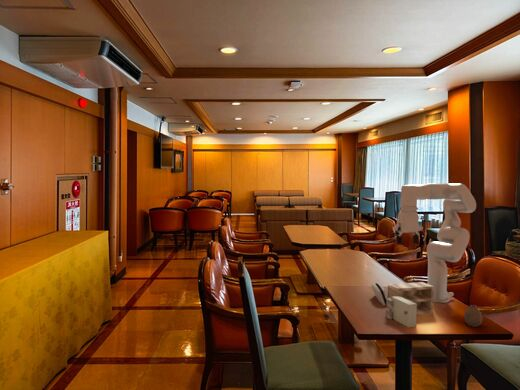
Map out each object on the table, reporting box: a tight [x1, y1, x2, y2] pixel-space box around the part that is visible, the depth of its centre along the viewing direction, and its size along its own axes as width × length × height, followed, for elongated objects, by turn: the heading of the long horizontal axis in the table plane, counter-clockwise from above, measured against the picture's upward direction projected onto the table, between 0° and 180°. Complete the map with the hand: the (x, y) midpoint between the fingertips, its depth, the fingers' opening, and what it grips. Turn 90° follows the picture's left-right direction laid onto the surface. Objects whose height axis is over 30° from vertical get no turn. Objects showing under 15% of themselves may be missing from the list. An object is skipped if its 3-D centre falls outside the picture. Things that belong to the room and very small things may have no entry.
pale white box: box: [391, 296, 417, 328], centre depth 171 cm, size 5×12×10 cm, turn 17°
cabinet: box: [385, 281, 434, 320], centre depth 183 cm, size 26×11×13 cm, turn 106°
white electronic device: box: [371, 282, 388, 306], centre depth 203 cm, size 17×5×10 cm, turn 177°
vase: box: [463, 304, 483, 328], centre depth 169 cm, size 7×7×9 cm
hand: (407, 243), depth 191 cm, fingers open, 9 cm apart
